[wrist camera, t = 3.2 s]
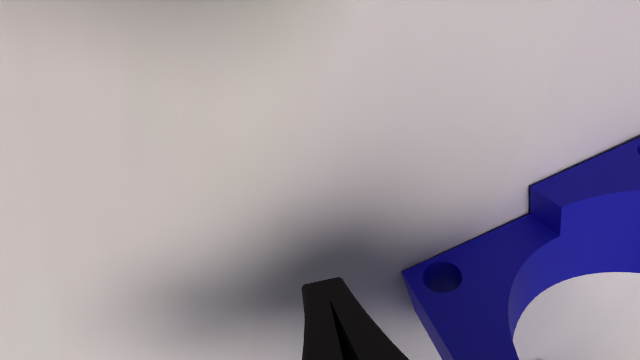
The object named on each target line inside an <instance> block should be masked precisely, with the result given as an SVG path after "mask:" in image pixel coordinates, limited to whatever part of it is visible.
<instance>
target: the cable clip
mask: <svg viewBox="0 0 640 360" xmlns="http://www.w3.org/2000/svg"><path fill="white" fill-rule="evenodd" d="M602 272H633V273H640V138H637V139H635V140H633V141H631V142H628V143H626V144H624V145H622V146H620V147H617V148H615V149H613V150H611V151H608V152H606V153H604V154H602V155H600V156H597V157H595V158H593V159H591V160H588V161H586V162H584V163H582V164H580V165H577V166H575V167H573V168H571V169H568V170H566V171H564V172H562V173H560V174H557V175H555V176H553V177H551V178H548V179H546V180H544V181H542V182H540V183H537V184H535V185H533V186H531V187H530V214H529V215H526V216H524V217H522V218H520V219H517V220H515V221H513V222H511V223H509V224H506V225H504V226H502V227H500V228H498V229H495V230H493V231H491V232H489V233H486V234H484V235H482V236H480V237H478V238H475V239H473V240H471V241H469V242H466V243H464V244H462V245H460V246H458V247H455V248H453V249H451V250H449V251H446V252H444V253H442V254H440V255H438V256H435V257H433V258H431V259H429V260H426V261H424V262H422V263H420V264H418V265H415V266H413V267H411V268H409V269H406V270H404V271H402V275H403V277H404V280H405V283H406V286H407V289H408V292H409V295H410V298H411V301H412V303H413V306H414V309H415V312H416V314H417V315H418V317H419V319H420V321H421V322H422V324H423V326H424V328H425V329H426V331H427V333H428V335H429V337H430V338H431V340H432V342H433V344H434V345H435V347H436V349H437V351H438V353H439V354H440V356H441V358H442V360H519V358H518V356H517V353H516V350H515V347H514V344H513V341H512V340H513V335H514V331H515V328H516V325H517V322H518V320H519V318H520V316H521V314H522V312H523V311H524V310H525V308H526V307H527V305H528V304H529V303H530V302H531V301H532V300H533V299H534V298H535V297H536V296H537V295H539V294H540V293H541V292H542V291H544V290H546V289H547V288H549V287H551V286H552V285H554V284H557V283H559V282H561V281H564V280H567V279H570V278H573V277H577V276H581V275H586V274H593V273H602Z"/></svg>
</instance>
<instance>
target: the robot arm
mask: <svg viewBox="0 0 640 360" xmlns="http://www.w3.org/2000/svg"><path fill="white" fill-rule="evenodd" d="M302 295H303V304H304V313H305V326H304V345H303V355H302V360H409V359H408V358H407V357H406V356H405V355H404V354H403V353H402V352H401V351H400V350H399V349H398V348H397V347H396V346H395V345H394V344H393V343H392V341H391V340H390V339H389V338H388V337H387V336H386V335H385V334H384V333H383V332H382V330H381V329H380V328H379V327H378V326H377V325H376V323H375V322H374V321H373V320H372V319H371V317H370V316H369V315H368V314H367V313H366V311H365V310H364V309H363V308H362V306H361V305H360V304H359V302H358V301H357V300H356V298H355V297H354V296H353V294H352V293H351V291H350V290H349V288H348V287H347V285H346V284H345V282H344V281H343V279H342V278H340V277H337V278H332V279H328V280H323V281H318V282H314V283H309V284H305V285H304V286H303V287H302Z"/></svg>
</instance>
